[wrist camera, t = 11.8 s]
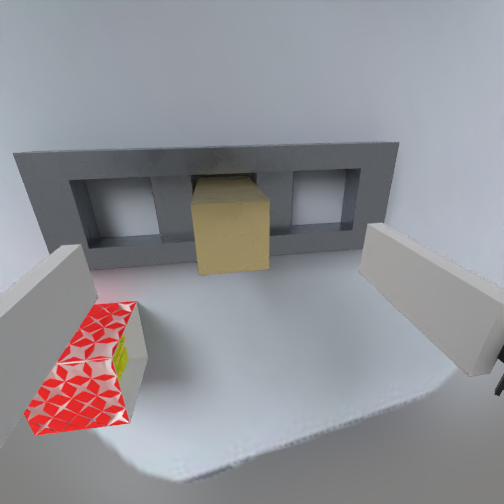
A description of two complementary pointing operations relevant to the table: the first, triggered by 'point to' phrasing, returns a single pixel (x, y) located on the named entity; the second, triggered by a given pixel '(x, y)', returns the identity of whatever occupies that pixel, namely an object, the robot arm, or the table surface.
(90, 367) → the red patterned cube
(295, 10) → the table surface
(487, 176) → the table surface
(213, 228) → the brass peg
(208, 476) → the table surface
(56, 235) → the rail
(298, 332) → the table surface
